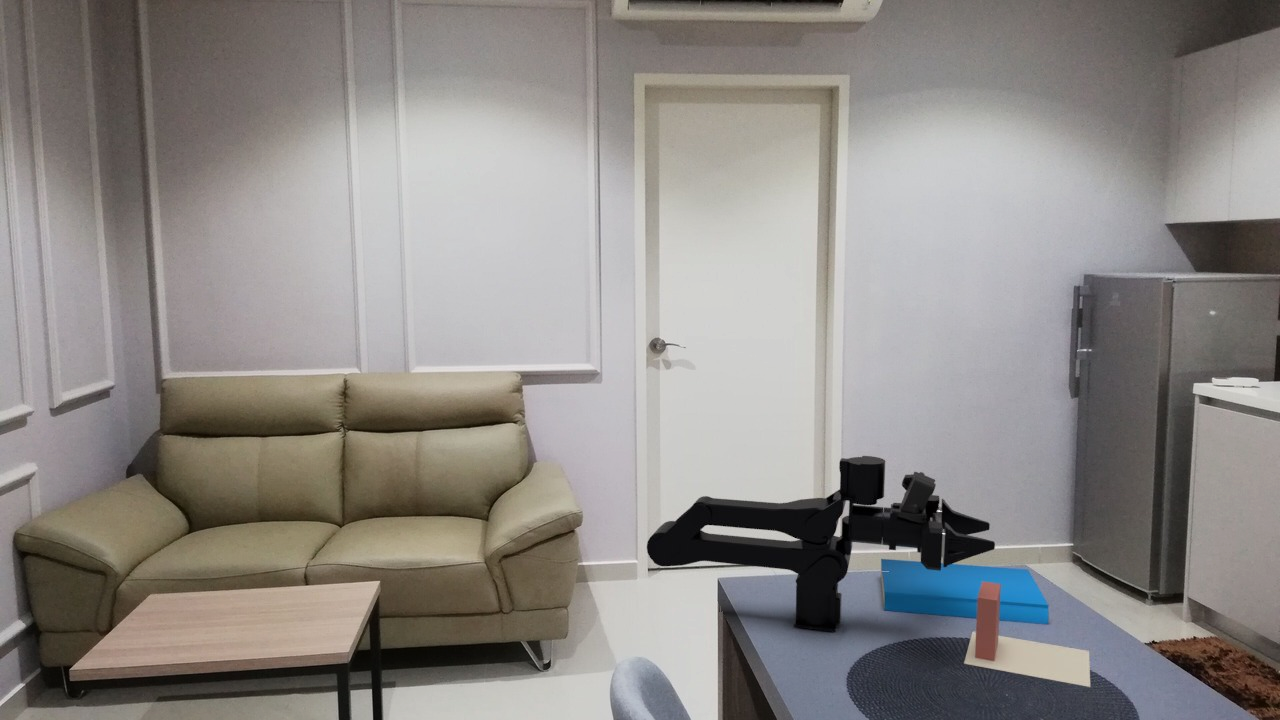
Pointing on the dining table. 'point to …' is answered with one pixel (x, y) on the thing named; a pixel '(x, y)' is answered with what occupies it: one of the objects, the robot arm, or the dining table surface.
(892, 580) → the book
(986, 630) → the card box
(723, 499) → the robot arm
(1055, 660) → the mat
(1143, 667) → the dining table surface
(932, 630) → the dining table surface
